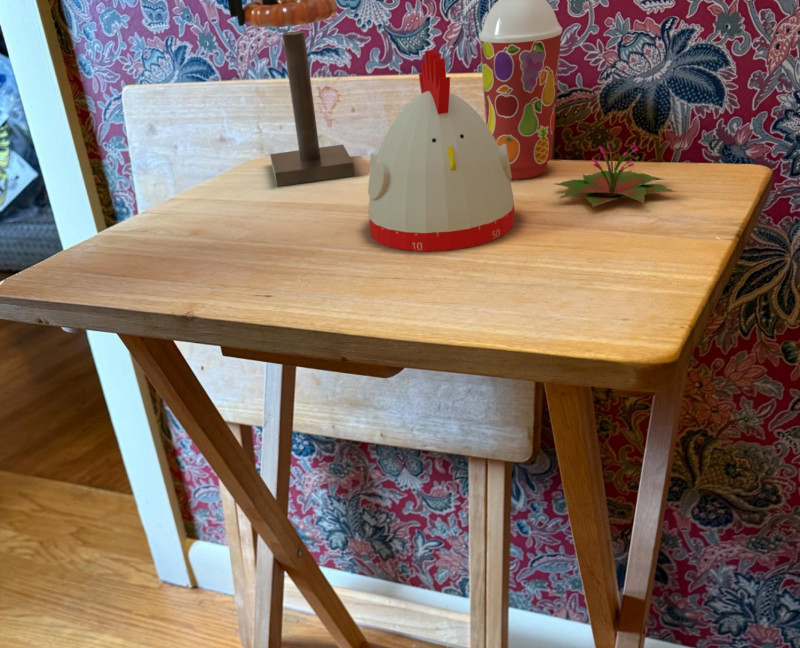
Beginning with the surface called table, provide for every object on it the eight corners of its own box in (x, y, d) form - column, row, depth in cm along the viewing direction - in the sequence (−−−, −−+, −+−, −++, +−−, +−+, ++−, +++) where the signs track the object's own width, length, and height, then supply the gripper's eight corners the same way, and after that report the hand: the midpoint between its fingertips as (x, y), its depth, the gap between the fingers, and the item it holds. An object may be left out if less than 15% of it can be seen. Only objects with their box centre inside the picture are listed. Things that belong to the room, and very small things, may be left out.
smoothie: (538, 157, 102) (540, -50, 90) (572, 174, 96) (579, -46, 84) (470, 169, 100) (463, -40, 88) (500, 188, 94) (497, -35, 82)
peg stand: (277, 186, 102) (254, 43, 93) (272, 166, 109) (250, 32, 100) (354, 176, 102) (339, 33, 94) (344, 157, 110) (329, 23, 101)
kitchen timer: (384, 260, 80) (367, 75, 71) (359, 215, 90) (341, 50, 82) (533, 236, 81) (534, 53, 72) (490, 195, 92) (487, 31, 83)
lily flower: (532, 189, 93) (532, 142, 90) (636, 170, 95) (639, 124, 92) (585, 221, 83) (587, 170, 81) (698, 199, 86) (704, 149, 83)
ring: (247, 31, 92) (244, 9, 90) (242, 20, 100) (239, 0, 98) (343, 20, 93) (340, -2, 92) (330, 10, 101) (328, -10, 100)
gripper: (299, -204, 88) (325, 9, 99) (137, -187, 87) (181, 27, 98) (307, -210, 82) (333, 17, 93) (132, -192, 81) (180, 36, 92)
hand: (255, 20), depth 96 cm, fingers closed on ring, 2 cm apart
